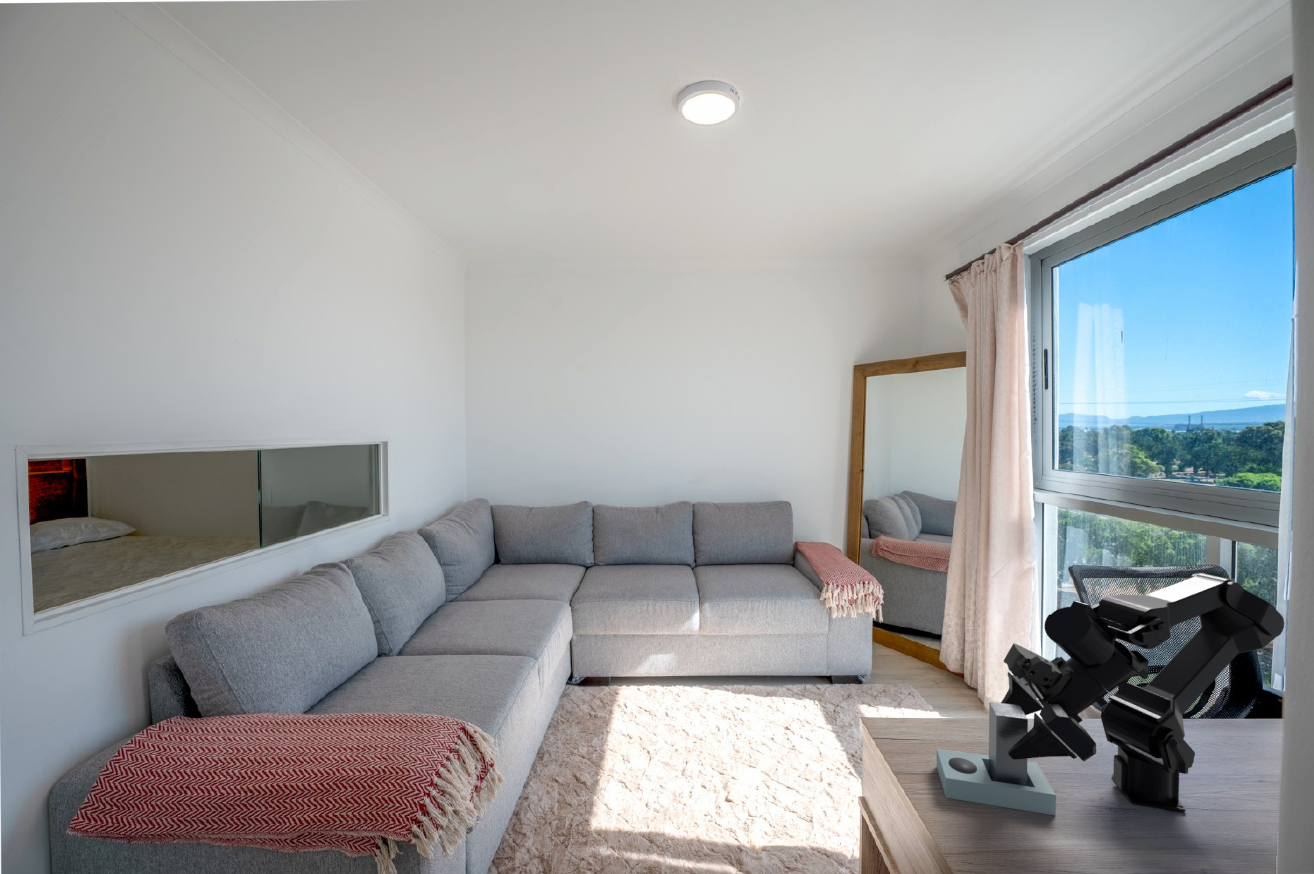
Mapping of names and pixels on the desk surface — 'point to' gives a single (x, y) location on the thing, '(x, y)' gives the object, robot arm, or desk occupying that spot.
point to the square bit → (1006, 743)
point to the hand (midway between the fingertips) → (1001, 738)
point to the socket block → (992, 783)
